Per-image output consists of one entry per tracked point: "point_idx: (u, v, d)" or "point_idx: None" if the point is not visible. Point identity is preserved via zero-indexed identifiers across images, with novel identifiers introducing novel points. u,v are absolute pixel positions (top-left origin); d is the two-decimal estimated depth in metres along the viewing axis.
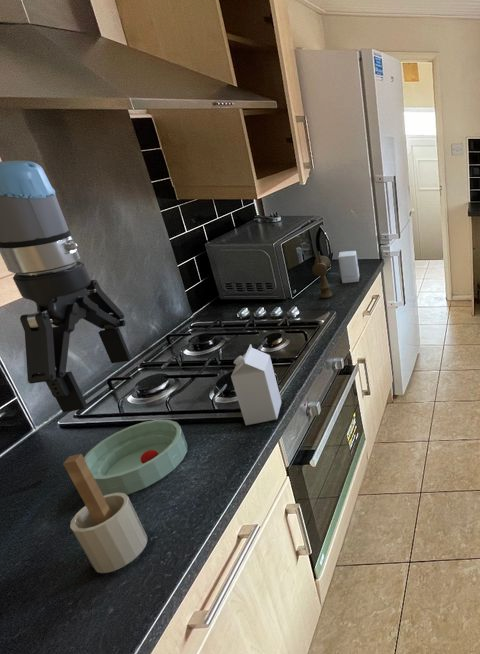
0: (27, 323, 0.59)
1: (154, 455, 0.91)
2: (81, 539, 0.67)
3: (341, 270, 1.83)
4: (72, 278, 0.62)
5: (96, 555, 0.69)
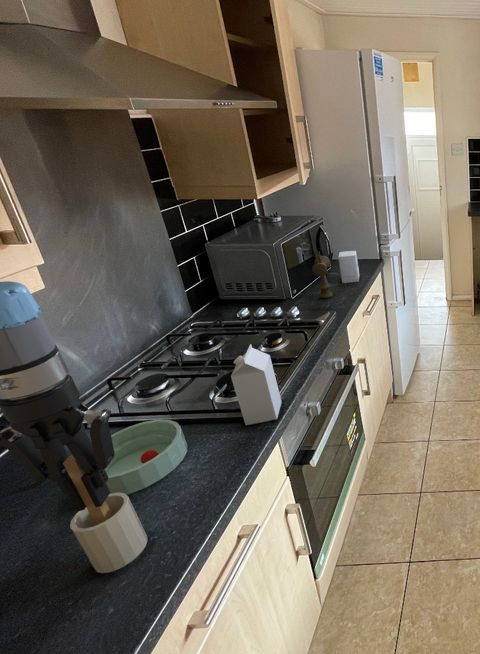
0: None
1: (154, 455, 0.91)
2: (81, 539, 0.67)
3: (341, 270, 1.83)
4: (5, 411, 0.57)
5: (96, 555, 0.69)
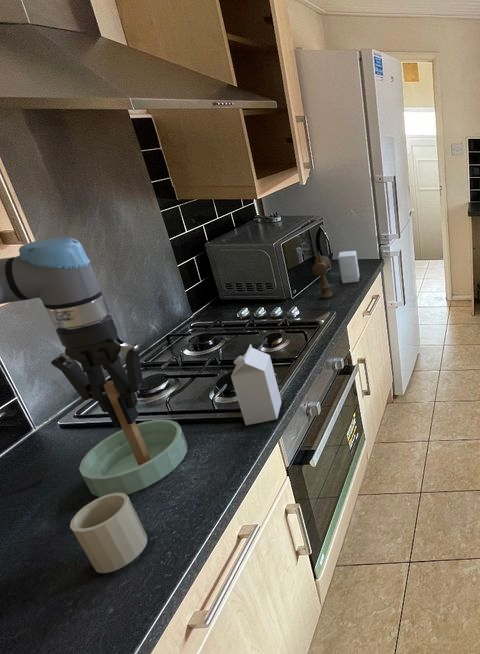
0: None
1: None
2: (81, 539, 0.67)
3: (341, 270, 1.83)
4: (63, 338, 0.74)
5: (96, 555, 0.69)
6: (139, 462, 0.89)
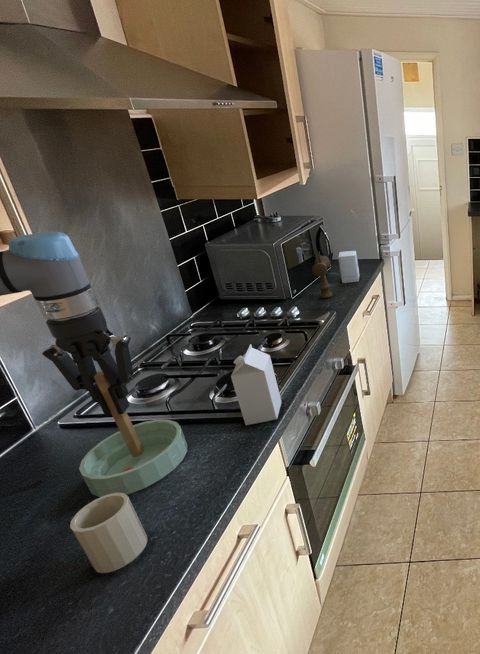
0: None
1: None
2: (81, 539, 0.67)
3: (341, 270, 1.83)
4: (52, 329, 0.76)
5: (96, 555, 0.69)
6: (131, 451, 0.91)
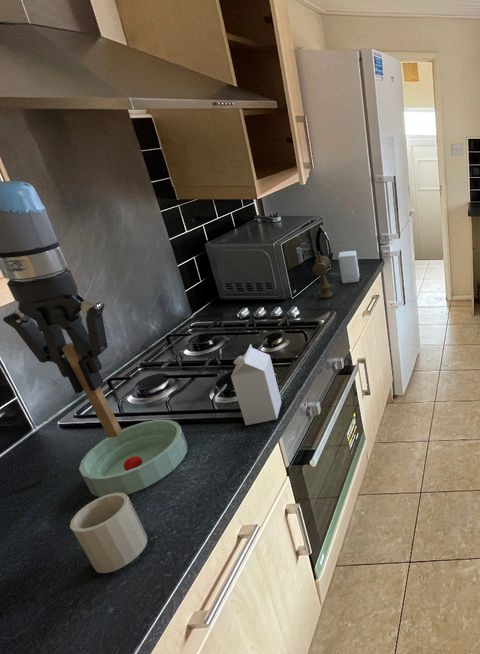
0: None
1: None
2: (81, 539, 0.67)
3: (341, 270, 1.83)
4: (14, 291, 0.68)
5: (96, 555, 0.69)
6: (107, 430, 0.83)
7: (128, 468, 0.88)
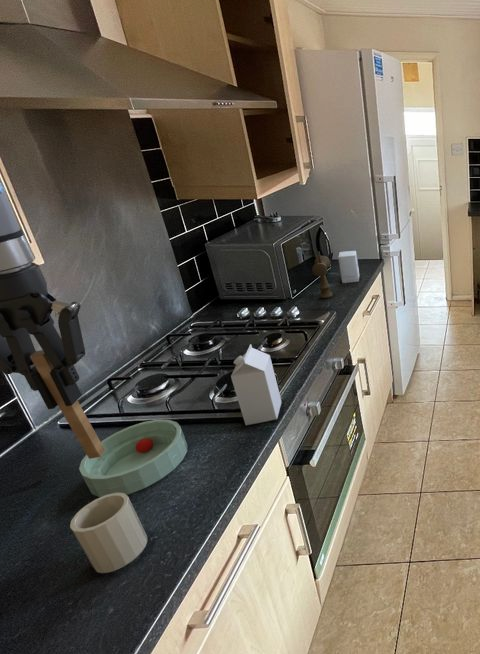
0: None
1: (145, 440, 0.94)
2: (81, 539, 0.67)
3: (341, 270, 1.83)
4: None
5: (96, 555, 0.69)
6: (87, 451, 0.72)
7: None
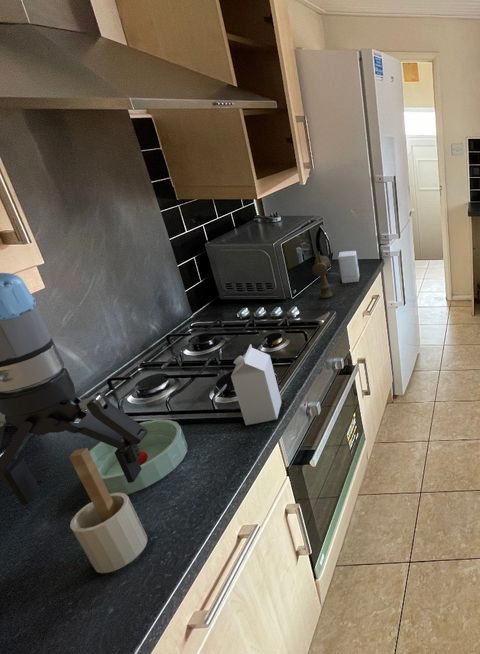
0: None
1: None
2: (81, 539, 0.67)
3: (341, 270, 1.83)
4: None
5: (96, 555, 0.69)
6: None
7: None
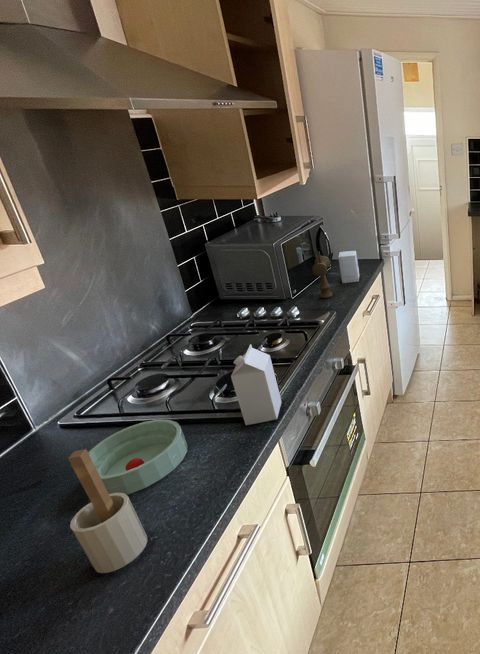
0: None
1: None
2: (81, 539, 0.67)
3: (341, 270, 1.83)
4: None
5: (96, 555, 0.69)
6: None
7: None
